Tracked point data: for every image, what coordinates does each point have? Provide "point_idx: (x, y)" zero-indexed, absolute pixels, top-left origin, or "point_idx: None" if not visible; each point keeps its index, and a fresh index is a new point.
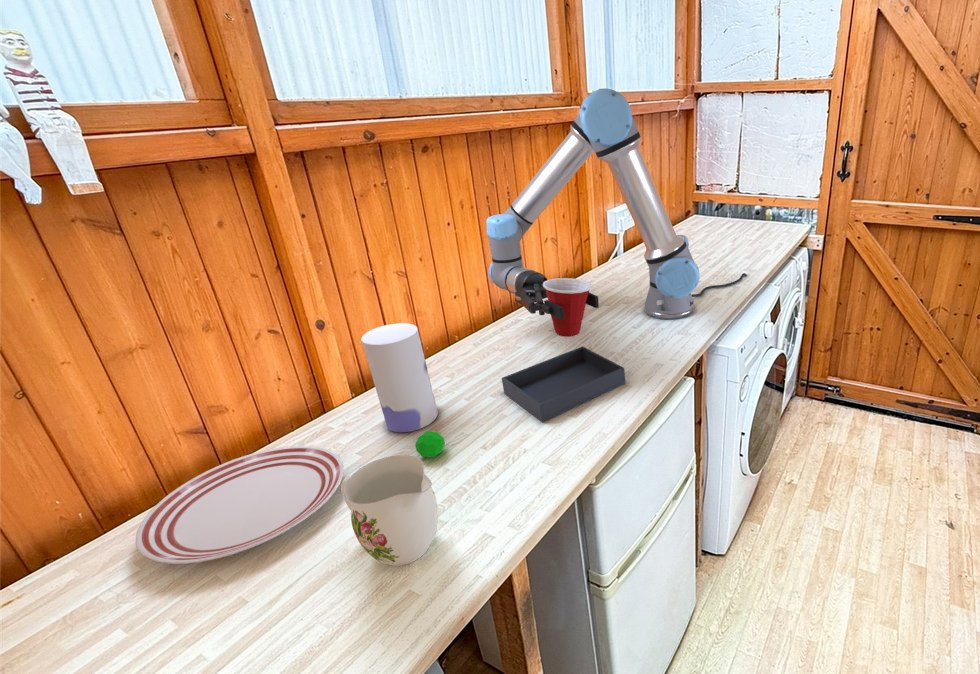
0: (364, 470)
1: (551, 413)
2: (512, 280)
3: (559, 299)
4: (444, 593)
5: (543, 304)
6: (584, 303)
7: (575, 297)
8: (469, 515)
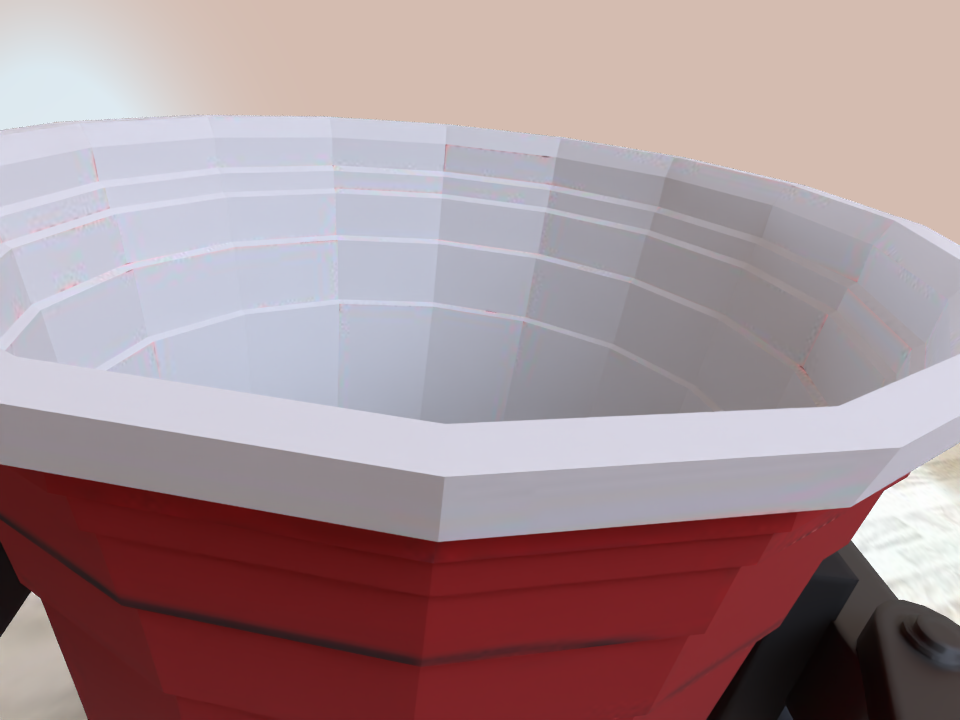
0: None
1: None
2: None
3: (664, 309)
4: (943, 456)
5: (854, 594)
6: (292, 357)
7: (485, 228)
8: (943, 535)
